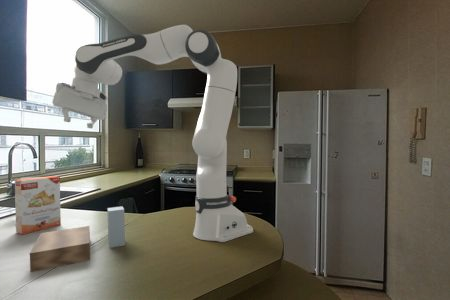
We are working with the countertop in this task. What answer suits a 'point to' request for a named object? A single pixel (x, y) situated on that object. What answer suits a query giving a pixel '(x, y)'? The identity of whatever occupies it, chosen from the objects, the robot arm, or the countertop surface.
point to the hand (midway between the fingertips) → (78, 125)
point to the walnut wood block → (60, 248)
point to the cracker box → (37, 203)
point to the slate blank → (116, 227)
